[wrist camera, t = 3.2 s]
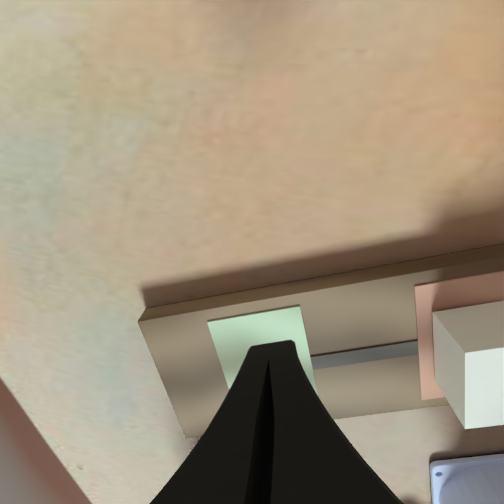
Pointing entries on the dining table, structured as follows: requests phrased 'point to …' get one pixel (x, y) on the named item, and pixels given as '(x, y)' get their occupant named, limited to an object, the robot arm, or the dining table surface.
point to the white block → (471, 362)
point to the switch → (323, 334)
